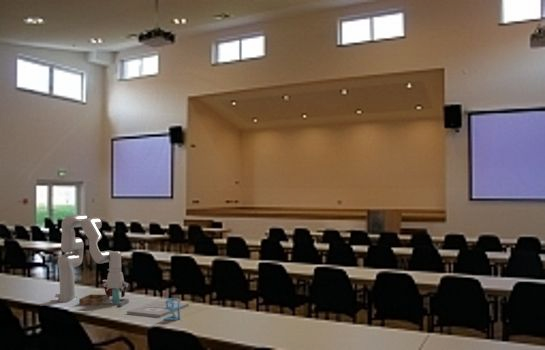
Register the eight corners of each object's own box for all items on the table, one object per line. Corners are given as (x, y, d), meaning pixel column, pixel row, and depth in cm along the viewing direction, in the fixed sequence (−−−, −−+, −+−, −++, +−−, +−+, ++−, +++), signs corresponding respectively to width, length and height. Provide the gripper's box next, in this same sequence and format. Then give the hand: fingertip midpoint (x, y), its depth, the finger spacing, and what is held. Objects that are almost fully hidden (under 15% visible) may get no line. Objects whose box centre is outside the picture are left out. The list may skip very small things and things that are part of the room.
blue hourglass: (174, 321, 299) (173, 300, 299) (163, 319, 303) (162, 299, 303) (183, 318, 305) (182, 297, 305) (172, 316, 310) (172, 296, 310)
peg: (111, 303, 343) (110, 290, 343) (114, 302, 347) (114, 288, 348) (117, 303, 342) (117, 290, 342) (120, 302, 347) (120, 288, 347)
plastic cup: (121, 294, 375) (120, 278, 375) (115, 298, 364) (114, 281, 364) (106, 295, 376) (106, 278, 376) (100, 298, 365) (99, 281, 365)
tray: (103, 306, 340) (103, 302, 340) (111, 302, 352) (111, 298, 352) (120, 306, 338) (120, 303, 338) (128, 302, 350) (128, 298, 350)
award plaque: (188, 306, 336) (188, 303, 336) (160, 318, 309) (160, 314, 309) (157, 303, 346) (157, 300, 346) (127, 314, 319) (127, 311, 319)
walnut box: (79, 306, 341) (79, 299, 341) (90, 301, 355) (90, 294, 355) (99, 307, 339) (99, 299, 339) (109, 302, 353) (109, 294, 353)
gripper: (100, 271, 343) (100, 297, 343) (125, 271, 340) (125, 297, 340) (105, 269, 350) (106, 295, 350) (130, 269, 347) (130, 295, 347)
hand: (116, 296), depth 345 cm, fingers open, 9 cm apart
